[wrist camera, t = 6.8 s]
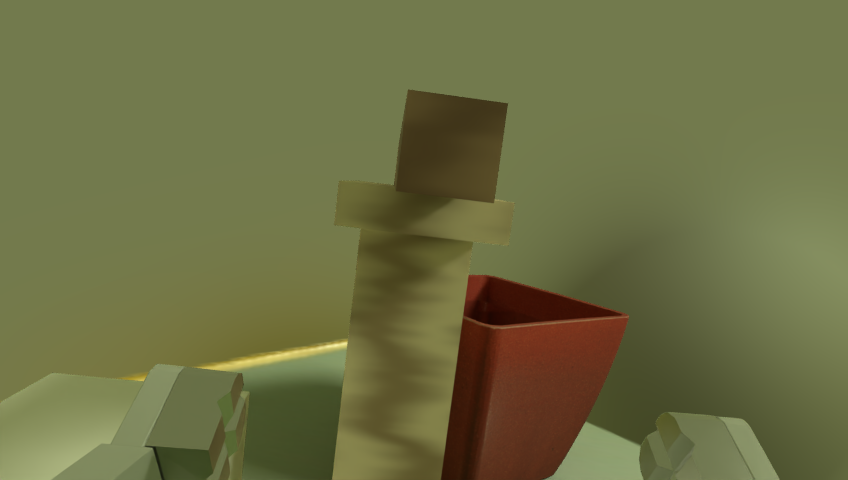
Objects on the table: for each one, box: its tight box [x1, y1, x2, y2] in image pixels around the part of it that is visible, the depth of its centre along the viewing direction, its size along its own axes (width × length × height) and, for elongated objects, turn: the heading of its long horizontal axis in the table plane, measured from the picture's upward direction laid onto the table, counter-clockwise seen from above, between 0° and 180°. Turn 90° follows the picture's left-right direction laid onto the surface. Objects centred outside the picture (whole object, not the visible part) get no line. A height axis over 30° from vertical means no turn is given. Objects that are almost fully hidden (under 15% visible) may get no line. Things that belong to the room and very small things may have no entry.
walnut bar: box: [394, 90, 508, 203], centre depth 27 cm, size 3×22×3 cm, turn 3°
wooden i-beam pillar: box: [332, 181, 515, 480], centre depth 32 cm, size 10×14×26 cm
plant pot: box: [441, 275, 629, 480], centre depth 52 cm, size 19×19×17 cm
